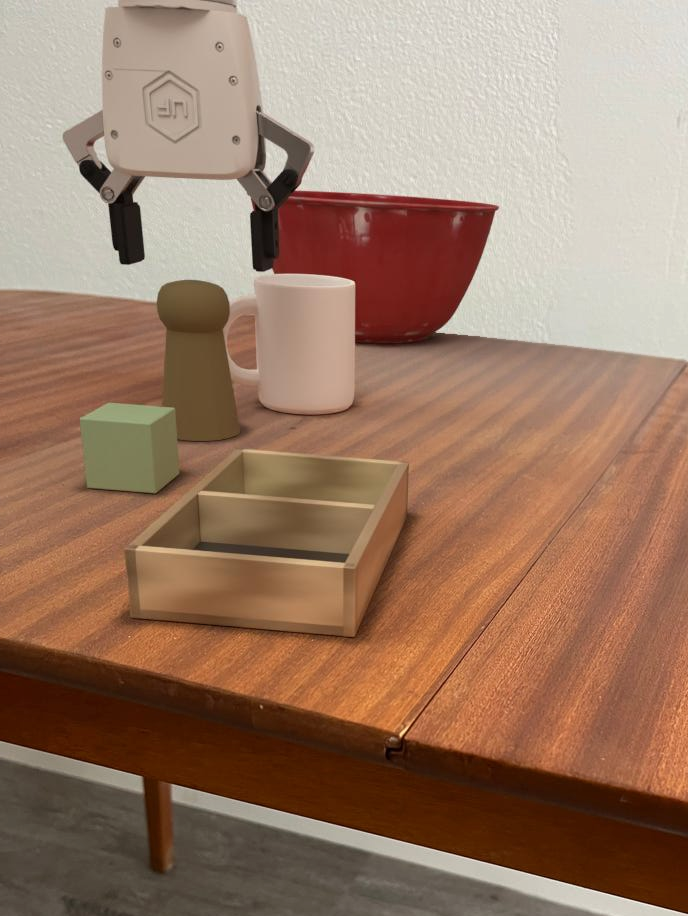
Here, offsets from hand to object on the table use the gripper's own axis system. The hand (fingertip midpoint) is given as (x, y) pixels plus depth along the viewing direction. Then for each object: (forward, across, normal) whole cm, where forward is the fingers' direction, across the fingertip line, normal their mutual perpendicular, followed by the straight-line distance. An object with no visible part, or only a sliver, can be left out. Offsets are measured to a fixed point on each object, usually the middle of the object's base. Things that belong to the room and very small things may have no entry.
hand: (197, 266), depth 74 cm
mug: (+12, +3, +10) cm, 16 cm away
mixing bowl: (+13, +4, +49) cm, 51 cm away
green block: (+12, -1, -14) cm, 18 cm away
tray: (+12, +12, -25) cm, 31 cm away
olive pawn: (+12, -1, 0) cm, 12 cm away
